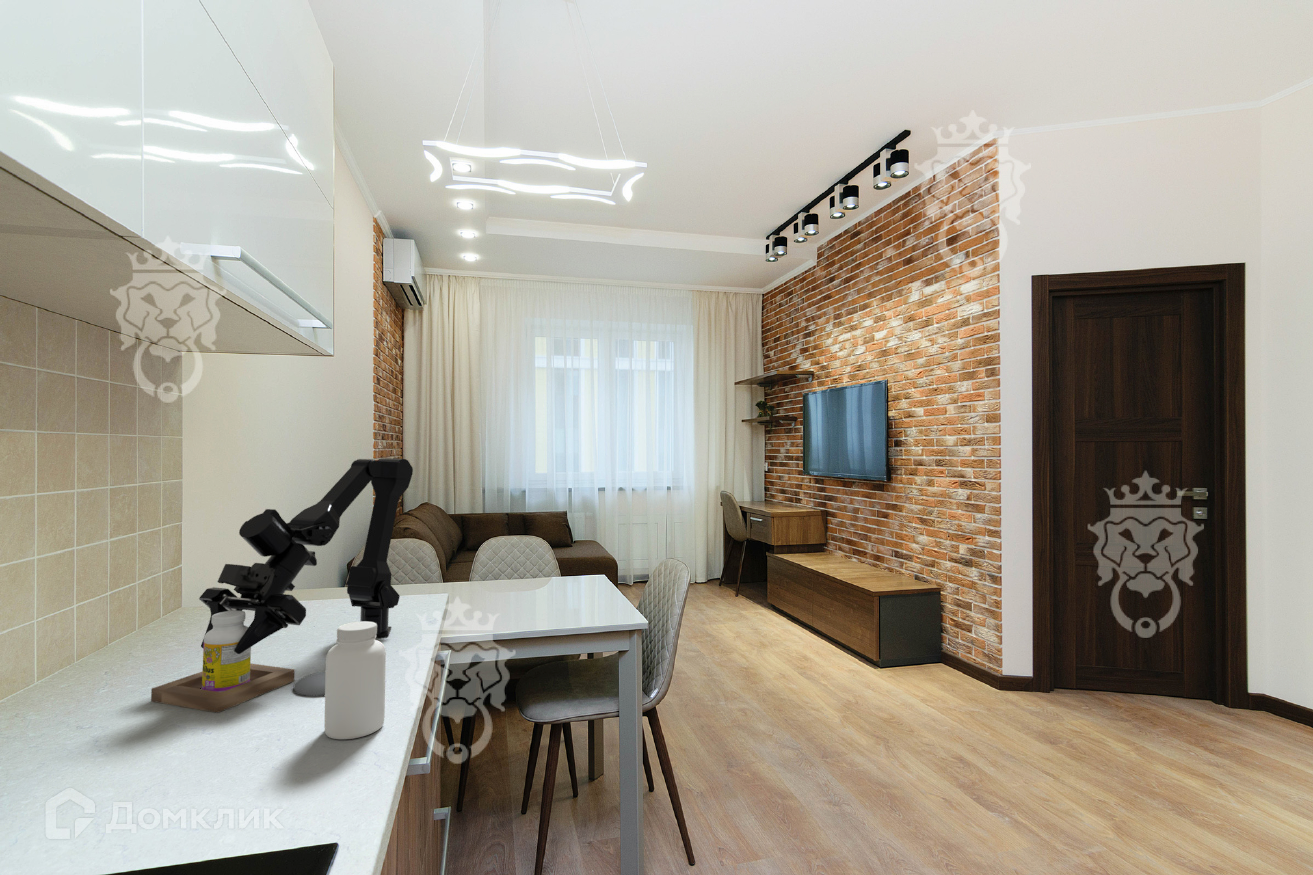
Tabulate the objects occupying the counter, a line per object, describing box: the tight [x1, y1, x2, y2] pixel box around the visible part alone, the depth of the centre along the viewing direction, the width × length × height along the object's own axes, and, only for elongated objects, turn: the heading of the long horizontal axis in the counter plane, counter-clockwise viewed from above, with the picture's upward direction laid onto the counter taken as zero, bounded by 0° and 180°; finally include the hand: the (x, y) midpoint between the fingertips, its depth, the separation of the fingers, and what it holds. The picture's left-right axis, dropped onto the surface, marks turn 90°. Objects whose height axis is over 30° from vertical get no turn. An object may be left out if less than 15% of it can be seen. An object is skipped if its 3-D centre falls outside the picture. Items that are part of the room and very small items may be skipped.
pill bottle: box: [323, 621, 387, 740], centre depth 90 cm, size 8×8×15 cm
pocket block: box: [150, 662, 296, 713], centre depth 103 cm, size 14×14×2 cm
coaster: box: [293, 670, 326, 697], centre depth 107 cm, size 11×11×1 cm
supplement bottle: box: [201, 610, 252, 692], centre depth 103 cm, size 7×7×13 cm
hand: (219, 650), depth 102 cm, fingers open, 7 cm apart
